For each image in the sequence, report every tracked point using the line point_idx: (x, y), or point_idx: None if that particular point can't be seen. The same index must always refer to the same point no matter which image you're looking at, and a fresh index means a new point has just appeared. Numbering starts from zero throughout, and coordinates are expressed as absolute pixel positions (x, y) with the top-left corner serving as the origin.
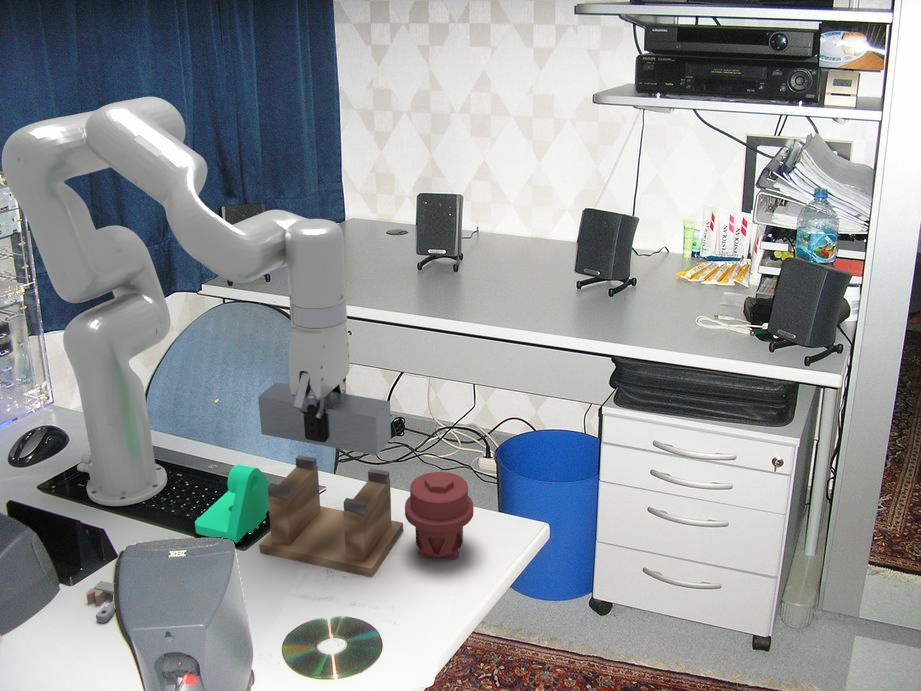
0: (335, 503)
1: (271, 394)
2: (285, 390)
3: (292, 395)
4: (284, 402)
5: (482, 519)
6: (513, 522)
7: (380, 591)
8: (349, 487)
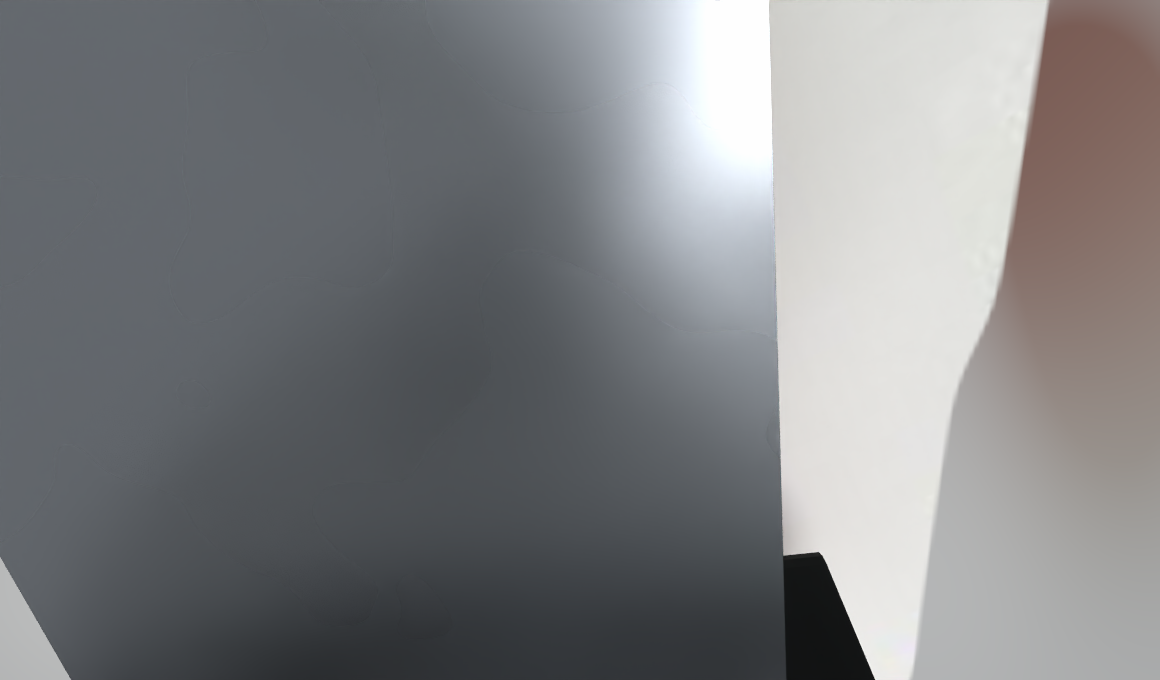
0: (826, 55)
1: (8, 125)
2: (420, 311)
3: (317, 566)
4: (30, 556)
5: (899, 581)
6: (912, 655)
7: None
8: (978, 37)
